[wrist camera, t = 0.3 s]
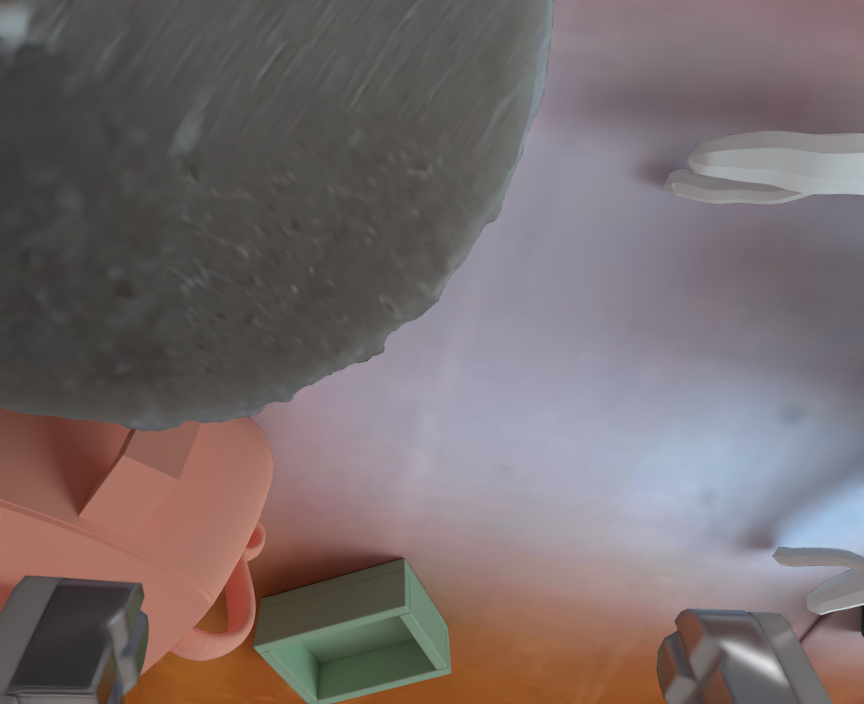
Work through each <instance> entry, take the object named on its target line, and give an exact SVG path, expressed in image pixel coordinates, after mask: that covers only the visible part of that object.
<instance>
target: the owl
mask: <svg viewBox="0 0 864 704" xmlns="http://www.w3.org/2000/svg"><path fill="white" fill-rule="evenodd" d="M686 160H687V161H688V163H689V165H690V166H691V168H692V169H693V170H691V169H678V170H675V171H672V172H669V174H668V176H667V179H666V182H665V185H664V187H663V190H665V191H667V192H669V193H670V194H672V195H674V196H676V197H684V198H688V199H691V200H695V201H698V202H704V203H709V204H727V203H753V204H780V203H785V202H789V201H793V200H796V199H800V198H803V197H806V196H809V195H812V194H856V195H864V133H830V134H819V135H813V134H804V133H796V132H789V131H758V132H750V133H742V134H734V135H728V136H721V137H716V138H712V139H708V140H705V141H701V142H698V143H697V144H696V146H695V147H694V148H693V150H692V151H691V153H690V154H689V156H688V157H687V159H686ZM772 557H773V558H774V559H775V560H776V561H777V562H778V563H780V564H781V565H784V566H792V567H800V566H844V567H848V568H851V570H848V571H846V572H844V573H842V574H840V575H838V576H836V577H834V578H832V579H830V580H828V581H827V582H825V583H823V584H821V585H820V586H818V587H817V588H816V589H815V590H814V591H812V592H811V593H810V594H809V596H808V597H807V610H808V611H811V612H814V613H817V614H820V615H823V614H826V613H830V612H833V611H838V610H844V609H849V608H854V607H858V606H862V605H864V557H861V556H859V555H857V554H855V553H852V552H850V551H846V550H842V549H832V548H788V547H778V548H777V550H776V551H775V553H774V554H773V556H772Z"/></svg>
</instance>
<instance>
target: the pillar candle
mask: <svg viewBox="0 0 864 704" xmlns="http://www.w3.org/2000/svg"><path fill="white" fill-rule="evenodd" d="M553 2H554V0H0V408H4V409H10V410H13V411H16V412H18V413H26V414H34V415H44V416H58V417H62V418H65V419H71V420H92V421H98V422H103V423H115V424H120V425H122V426H124V427H126V428H128V429H132V428H133V429H138V430H140V431H163V430H167V429H170V428H173V427H174V428H178V427H179V426H180V425H181V424H182V423H184V422H186V421H196V422H200V423H212V422H217V423H222V422H225V421H229V420H232V419H235V418H238V419H239V418H247V417H250V416H251V415H254V414H257V413H259V412H261V411H262V410H263V409H264V408H265V406H266V405H267V404H268V403H270V402H289V401H291V400H292V399H293V397H294V395H295V393H296V392H297V391H299V390H301V389H302V388H304V387H306V386H309V385H312V384H314V383H315V382H317V381H319V380H321V379H322V378H324V377H325V376H327V375H331V374H332V373H333V372H337V371H339V370H342V369H344V368H346V367H348V366H350V365H352V364H354V363H361V362H365V361H368V360H369V359H370V358H371V357H372V356H375V355H378V354H381V353H383V352H384V350H385V347H384V346H383V345H384V342H385V340H386V338H387V336H388V335H389V334H390V333H391V332H393V331H395V330H397V329H398V328H399V327H400V326H401V325H402V324H404V323H406V322H409V321H412V320H415V319H417V318H419V317H420V316H422V315H423V314H424V313H425V312H426V311H427V310H428V309H429V308H430V307H432V306H433V305H434V304H435V303H437V302H438V301H439V298H440V296H441V293H442V291H443V289H444V287H445V285H446V283H447V282H448V280H449V279H450V278H451V276H452V275H453V273H454V272H455V271H456V269H457V268H458V267H459V266H460V265H461V264H462V262H463V261H464V260H465V259H466V257H467V255H468V253H469V251H470V250H471V248H472V246H473V244H474V243H475V241H476V239H477V238H478V236H479V234H480V233H481V231H482V229H483V227H484V226H485V225H486V224H488V223H490V222H493V221H495V220H496V218H497V217H498V215H499V213H500V210H501V208H502V202H503V200H504V197H505V193H506V191H507V189H508V186H509V183H510V180H511V178H512V175H513V173H514V170H515V168H516V165H517V163H518V161H519V159H520V157H521V156H522V153H523V146H524V142H525V139H526V136H527V134H528V132H529V130H530V127H531V124H532V121H533V118H534V117H535V115H536V113H537V110H538V106H539V104H540V101H541V99H542V96H543V94H544V83H545V77H546V73H547V62H548V54H549V50H550V41H551V33H552V26H553Z"/></svg>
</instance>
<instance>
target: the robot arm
mask: <svg viewBox="0 0 864 704" xmlns="http://www.w3.org/2000/svg"><path fill="white" fill-rule="evenodd" d="M144 597H145V596H144V591H143V586H142V582H127V581H110V580H93V579H76V578H66V577H47V576H26V575H25V576H24V578H23V579H22V580H21V581H20V582H19V583H18V584H17V585H16V586H15V587H14V588H13V590H12V592H11V594H10V596H9V598H8V599H7V601H6V603H5V605H4V607H3V609H2V610H1V612H0V704H125V699H124V695H125V694H126V693H127V692H129V691H130V690H131V689H132V688H133V687H134V686H135V685H136V684H137V683H138V681H139V678H140V675H141V671H142V668H143V665H144V661H145V656H146V651H147V645H148V639H149V622H148V615H146V614H145V613H144V612H143V611H141V610H140V609H141V606H142V603H143V600H144ZM675 624H676V626H677V629H678V631H676V632H674V633H673V634H671V635H669V636H667V637H666V638H664V640H663V642H662V644H661V646H660V648H659V650H658V657H657V673H658V680H659V684H660V687H661V691H662V694H663V697H664V700H665V701H666V702H667V703H668V704H833V702H832V701H831V699H830V697H829V695H828V693H827V691H826V690H825V688H824V686H823V684H822V682H821V680H820V679H819V677H818V675H817V673H816V671H815V670H814V668H813V666H812V664H811V662H810V660H809V659H808V657H807V655H806V653H805V651H804V649H803V648H802V646H801V644H800V642H799V640H798V639H797V637H796V635H795V633H794V631H793V629H792V628H791V626H790V624H789V622H788V621H787V620H786V619H785V618H784V617H783V616H782V615H781V614H778V613H773V612H746V611H744V610H714V609H686V610H684V611H682V612H680V614H679V615H678V617H677V619H676V620H675Z"/></svg>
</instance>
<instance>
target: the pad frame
mask: <svg viewBox="0 0 864 704" xmlns="http://www.w3.org/2000/svg"><path fill="white" fill-rule="evenodd" d="M448 636H449V635H448V626H447V624H446V623H445V621H444V620H443V618H442V616H441V615H440V613H439V612H438V610H437V609H436V607H435V605H434V604H433V602H432V601H431V599H430V598H429V596H428V594H427V593H426V591H425V590H424V588H423V586H422V585H421V583H420V582H419V580H418V579H417V577H416V575H415V574H414V572H413V571H412V569H411V568H410V566H409V564H408V563H407V561H406V560H405V558H403V559H399V560H396V561H392V562H389V563H385V564H382V565H378V566H375V567H371V568H368V569H364V570H361V571H357V572H354V573H350V574H347V575H343V576H340V577H336V578H333V579H329V580H326V581H322V582H319V583H315V584H312V585H308V586H305V587H301V588H298V589H294V590H291V591H287V592H284V593H280V594H276V595H273V596H269V597H266V598H262V599H261V603H260V610H259V615H258V621H257V626H256V632H255V637H254V643H253V648H254V649H255V650H256V651H257V652H258V653H259V654H260V655H261V656H262V657H263V658H264V659H265V660H266V662H267V663H268V664H269V665H270V666H271V667H272V668H273V669H274V670H275V671H276V672H277V673H278V674H279V675H280V676H281V677H282V678H283V679H284V680H285V681H286V682H287V683H288V684H289V685H290V686H291V687H292V688H293V689H294V690H295V691H296V692H297V693H298V695H299V696H300V697H301V698H302V699H303V700H304V701H305V702H306V703H307V704H331V703H335V702H339V701H343V700H347V699H351V698H355V697H359V696H363V695H367V694H371V693H375V692H379V691H383V690H387V689H391V688H395V687H399V686H403V685H407V684H411V683H414V682H418V681H422V680H426V679H430V678H434V677H438V676H442V675H446V674H450V673H451V662H450V649H449V637H448Z"/></svg>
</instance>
